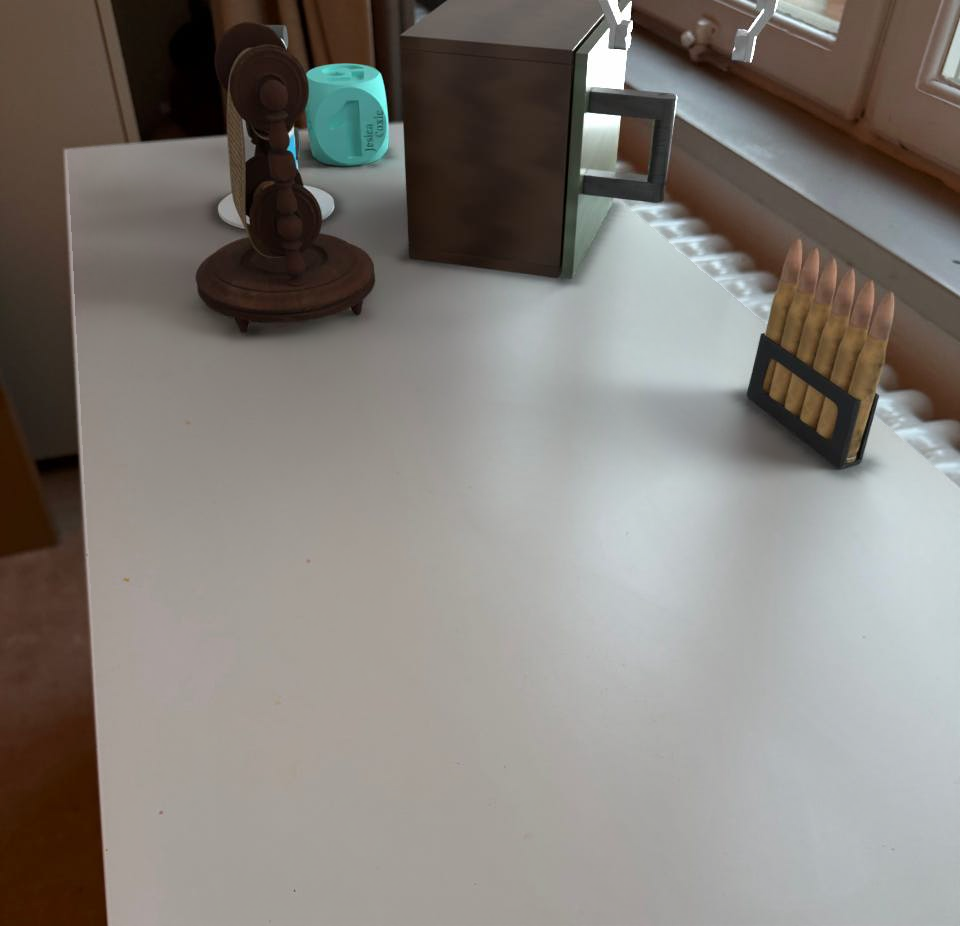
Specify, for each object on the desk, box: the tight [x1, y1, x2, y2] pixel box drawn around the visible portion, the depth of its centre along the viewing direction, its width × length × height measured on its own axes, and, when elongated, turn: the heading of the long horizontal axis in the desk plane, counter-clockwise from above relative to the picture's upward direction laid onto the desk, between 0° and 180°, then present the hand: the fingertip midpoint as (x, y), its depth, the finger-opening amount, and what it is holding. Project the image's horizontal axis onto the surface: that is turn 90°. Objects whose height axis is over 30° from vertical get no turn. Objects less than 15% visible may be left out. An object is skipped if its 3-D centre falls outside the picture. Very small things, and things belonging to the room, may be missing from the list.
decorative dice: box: [304, 63, 390, 167], centre depth 111 cm, size 8×8×8 cm
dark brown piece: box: [195, 21, 376, 334], centre depth 81 cm, size 15×15×20 cm
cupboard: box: [399, 0, 618, 279], centre depth 92 cm, size 14×18×18 cm
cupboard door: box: [561, 0, 678, 279], centre depth 90 cm, size 8×18×18 cm, turn 164°
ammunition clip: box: [746, 237, 895, 470], centre depth 69 cm, size 11×2×12 cm, turn 26°
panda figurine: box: [217, 24, 335, 230], centre depth 97 cm, size 12×11×15 cm
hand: (679, 54), depth 79 cm, fingers open, 8 cm apart
